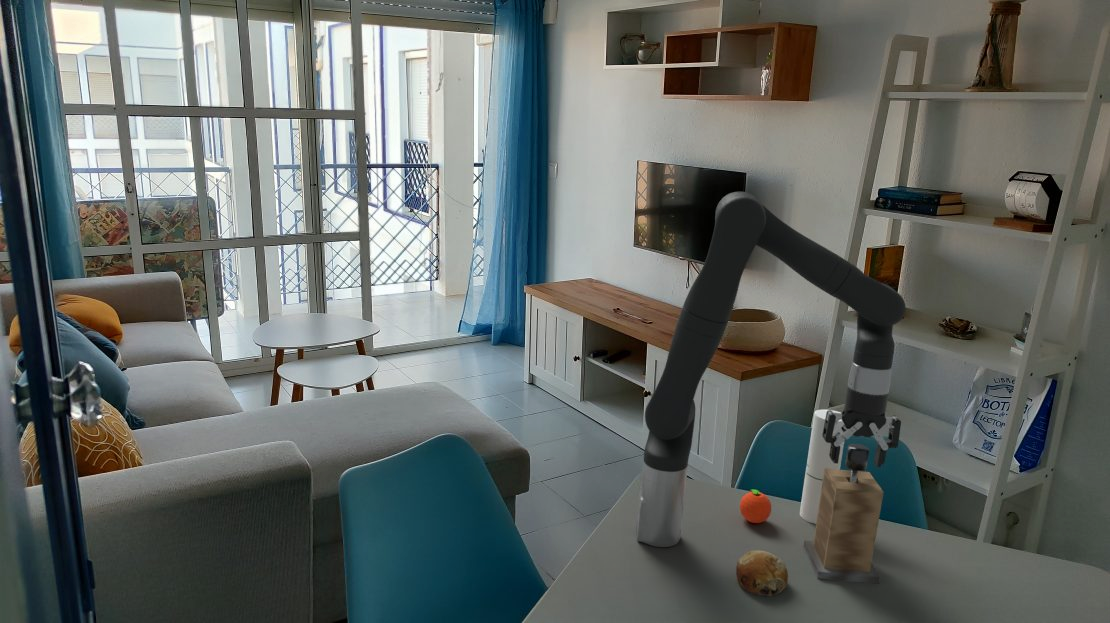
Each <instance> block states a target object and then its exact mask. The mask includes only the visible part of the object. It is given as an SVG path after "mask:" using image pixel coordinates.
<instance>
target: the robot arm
mask: <svg viewBox="0 0 1110 623" xmlns="http://www.w3.org/2000/svg"><path fill="white" fill-rule="evenodd" d="M714 220H715V222H714V228H713V233H712V237H711V241H710V244H709V248H708V251H707V252H708V253H707V256H706V259H705V261H704V263H703V266H702V267H701V270H700V271H699V273H698V275H697V276H696V278H695V280H694V281H693V284H692V285H691V287H690V290H688V294H687V295H686V298H685V300H684V302H683V305H682V308H681V310H680V314H679V316H678V319H677V323H676V325H675V329H674V331H673V332H674V333H673V336H672V339H671V342H670V347H669V349H668V350H669V351H668V353H667V359H666V362H665V365H664V369H663V372H662V375H661V376H660V379H659V381H658V383H657V385H656V387H655V389H654V391H653V393H652V396H651V398H650V399H649V401H648V403H647V405H646V407H645V410H644V411H645V412H644V420H645V425H646V427H647V430H648V436H647V440H646V444H645V447H644V452H643V461H642V463H643V464H642V473H641V485H640V487H639V496H638V506H637V516H636V517H637V518H636V538H637V539H636V541H637V542H641V543H644V544H646V545H650V546H653V547H656V548H657V547H659V548H668V547H669V548H670V547H672V546H673V547H674V546H675V545H677V544H678V543H679V542H680V541H681V535H682V534H681V533H682V522H683V513H684V512H683V511H684V506H685V505H684V504H685V495H686V493H685V492H686V485H687V475H688V466H689V458H690V453H691V450H692V443H693V437H694V428H695V421H696V403H695V400H694V399H695V396H696V392H697V390H698V387H699V384H700V381H701V379H702V377H703V376H704V374H705V373H706V371H707V368H708V367H709V364H710V363H711V362H712V360H713V357H714V356H715V353H716V351H718V348H719V345H720V344H721V342H722V339H723V336H724V334H725V332H726V329H727V325H728V323H729V321H730V317H731V314H732V312H733V311H732V310H733V307H734V305H735V302H736V298H737V294H738V290H739V287H740V282H741V279H742V276H743V273H744V270H745V268H746V266H747V264H748V262H749V260H750V258H751V256H752V254H753V252H754V249H755V248H756V246H757V247H759V248H761V249H762V250H765V251H766V252H768V253H769V254H771V255H773V256H774V257H775V258H777V259H778V260H780V261H781V262H783V263H784V264H785V265H786V266H788V267H789V268H790V269H791V270H793V271H794V272H795V273H797V274H798V276H800V277H802V278H803V279H805V280H806V281H807V282H809V283H810V284H812V285H814V286H815V287H816V288H817V289H820V290H821V291H824V292H825V293H826V294H828V295H829V296H832V297H833V298H835V299H838V300H839V301H841V302H843V303H844V304H845V305H847V306H848V307H850V308H851V309H852V310H854V311H855V312H856V313H857V314H856V316H857V317H856V322H857V323H856V342H855V346H854V352H853V359H852V363H851V367H850V371H849V376H848V379H847V388H846V393H845V394H846V395H845V402H844V408H843V411H842V412H841V413H833V412H832V411H831V410H832V409H827V410H828V411H827V413H826V418H825V423H824V428H823V433H822V437H823V438H824V440H825V441H826V442H827V443H831V446H830V453H829V456H830V458H831V460H832V461H833V463H836V464H838V460H839V454H840V445H841V444H842V443H843V442H844V443H845V441H846V440H849V439H850V438H851V437H852V436H853V437H857V438H858V437H859V438H860V437H864V438H871V437H873V438H874V439H875V441H876V442H877V445H876V447H875V454H874V459H873V464H874V466H875V467H876V468H881V467H882V465H884V464H885V462H886V461H885V460H886V456H887V452H888V451H887V450H889V449H897V448H898V447H899V441H900V434H901V426H902V421H901V419H900V418H899V417H898V416H897V415H894V414H893V415H891V416H886V411H887V405H888V399H889V392H890V388H891V383H892V382H891V380H892V367H893V362H894V355H895V345H896V344H895V341H894V338H893V327H894V325H897V324H898V323H899V322H901V321H902V320H903V318H904V316H905V315H906V311H907V310H906V303H905V300H904V298H903V296H902V295H901V294H900V293H898V292H897V291H896V290H895V289H894V288H893V287H891V286H890V285H888V284H886V283H881V282H879V281H877V280H875V279H874V278H872V277H870V276H869V275H867V274H866V273H864V272H863V271H862V270H861V269H860V268H858V267H857V266H856V265H854V263H851V262H849V261H848V260H846V259H844V258H843V257H842V256H840V255H838V254H836V253H835V252H833V251H832V250H830V249H828V248H826V247H825V246H823V245H821V244H820V243H818V242H816V241H814V240H813V239H811V238H809V237H807V236H805V235H804V234H802V233H801V232H798V231H797V230H796V229H794V227H793V228H792V227H791V226H790V225H789V224H787V223H785V222H784V221H782V220H781V219H780V218H779V217H778V216H776V215H775V214H774V213H773V212H771V211H770V210H769V209H768V208H767V207H766V206H765V205H764V204H762V202H761V201H760V200H759V198H758V197H756V196H755V195H754V194H752V193H750V192H746V191H734V192H730V193H728V194H726V195H725V196H723V197H722V198H721V200H720V201H719V202H718V203H717V206H716V208H715V216H714ZM839 420H842V421H843V423H844V424H843V425H842V426H841V427H840V428H839V429H838V431H837V432H836V433H835V434H834V435H833V430H834V425H835V424H837V423H838V421H839ZM885 425H887V427H888V435H887V436H888V437H887V439H885V438H884V437H883V435H882V433H881V431H880V430H881V429H882V428H883V427H884V426H885ZM832 435H833V436H832Z"/></svg>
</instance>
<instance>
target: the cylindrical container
mask: <svg viewBox="0 0 1110 623" xmlns="http://www.w3.org/2000/svg"><path fill="white" fill-rule="evenodd" d="M828 410H829V409H816V410H815V411H814V414H813V419H812V426H811V432H810V433H811V434H810V439H809V440H810V441H809V448H808V453H807V454H808V455H807V460H806V468H805V474H804V480H803V488H802V493H801V494H802V496H801V502H800V509H799V517H800V518H801V517H802V519H803V521H805V522H808V523H810V524H813V523H814V524H813V525H816V523H817V516H818V510H819V503H820V497H821V490H822V483H823V477H824V470H825V469H838V470H841V464H842V458H843V451H844V445H845V441H844V442H843V443H842V444H841V445H840V454H839V460H838V464H836V463H833V461H832V460H831V458H830V456H829V453H830V446H831V443H827V442H826V441H825V440H824V438H823V437H822V433H823V428H824V423H825V418H826V413H827V411H828ZM830 410H831V411H832V412H833V413H842V412H840V411H837V410H834V409H830ZM843 424H844V423H843V421H842V420H839V421H838V423H837V424H835V425H834V430H833V435H834V434H835V433H836V432H837V431H838V429H839V428H840V427H841V426H842V425H843ZM833 435H832V436H833Z"/></svg>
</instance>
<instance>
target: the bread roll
mask: <svg viewBox="0 0 1110 623" xmlns="http://www.w3.org/2000/svg"><path fill="white" fill-rule="evenodd" d="M735 568H736V569H735V575H736V579H737V582H738V585H739V586H740V587H741V588H742V589H743V590H745V591H746V592H749V593H751V594H752V595H758V596H763V597H764V596H765V597H772V596H776V595H778V594H780V593H781V592H782V591H783V590H784V589H785V588H787V586H788V581H789V580H788V578H789V573H788V569H787V566H786V564H785V563H784V562H783V561H782V559H781V558H780V557H778V556H776V555H774V554H773V553H771V552H769V551H766V550H758V549H757V550H750V551H748V552H746V553H745V554H743V555H742V556H741V557H740V558H739V559H737V562H736V567H735Z"/></svg>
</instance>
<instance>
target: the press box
mask: <svg viewBox="0 0 1110 623" xmlns="http://www.w3.org/2000/svg"><path fill="white" fill-rule="evenodd" d="M851 471H852V470H851V469H850V470H849V469H848V470H847V469H840V470H838V469H825V470H824V477H823V483H822V490H821V497H820V503H819V510H818V516H817V523H816V524H815V530H814V536H813V537H814V538H813V540H807V539H804V541H803V549H804V551H805V553H806V555H807V558H808V560H809V562H810V565H811V567H812V569H813V571H814V574H815V576H816V578H817V579H823V580H831V581H832V580H833V581H845V582H853V583H854V582H857V583H867V584H879V583H880V579H881V576H880V574H879V573H878V571H877V570H876V568H875V565H874V564H873V555H874V550H875V544H876V538H877V533H878V526H879V520H880V515H881V509H882V503H883V498H884V491H883V489H882V488H881V486H880V485H879V484H878V482H877V481H876V480H875V478H874V477H873V476H872V474H871V472H869V471H858V475H857V481H856V483H853V482H850V477H851Z"/></svg>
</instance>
